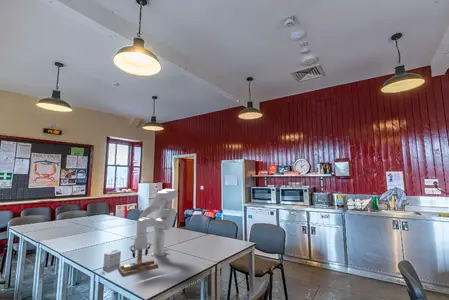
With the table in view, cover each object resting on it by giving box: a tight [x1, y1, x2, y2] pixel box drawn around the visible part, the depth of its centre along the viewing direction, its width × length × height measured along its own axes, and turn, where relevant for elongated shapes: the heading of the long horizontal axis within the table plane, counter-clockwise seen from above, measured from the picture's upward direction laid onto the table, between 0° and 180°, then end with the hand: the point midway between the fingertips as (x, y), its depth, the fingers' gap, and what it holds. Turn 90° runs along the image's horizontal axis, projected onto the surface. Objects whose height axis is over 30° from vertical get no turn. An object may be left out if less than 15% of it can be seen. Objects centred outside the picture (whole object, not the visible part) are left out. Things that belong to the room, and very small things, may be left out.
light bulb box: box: [102, 249, 122, 269], centre depth 177 cm, size 11×7×11 cm, turn 157°
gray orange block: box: [136, 249, 143, 264], centre depth 184 cm, size 3×5×11 cm, turn 37°
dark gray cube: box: [129, 262, 137, 271], centre depth 168 cm, size 4×4×4 cm
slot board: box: [117, 259, 159, 277], centre depth 171 cm, size 26×14×3 cm, turn 127°
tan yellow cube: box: [122, 263, 131, 272], centre depth 166 cm, size 4×4×4 cm
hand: (140, 256), depth 183 cm, fingers open, 9 cm apart
